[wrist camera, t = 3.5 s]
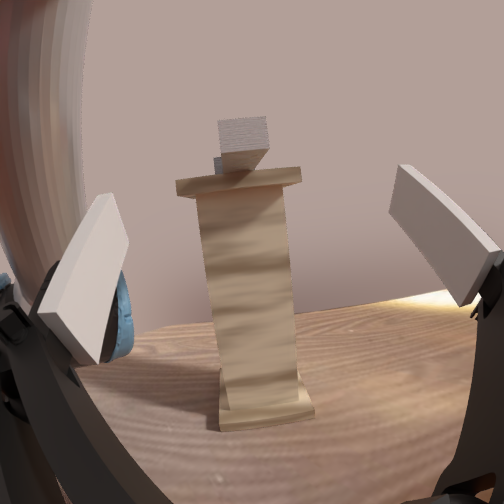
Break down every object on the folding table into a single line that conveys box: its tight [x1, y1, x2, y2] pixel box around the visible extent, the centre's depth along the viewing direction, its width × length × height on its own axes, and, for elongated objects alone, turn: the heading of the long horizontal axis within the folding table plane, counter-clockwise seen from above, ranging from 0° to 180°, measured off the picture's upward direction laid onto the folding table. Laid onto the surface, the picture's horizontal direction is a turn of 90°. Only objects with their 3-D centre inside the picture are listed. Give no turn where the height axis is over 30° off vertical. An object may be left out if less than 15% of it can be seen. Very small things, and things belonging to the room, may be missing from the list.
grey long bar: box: [214, 116, 270, 175], centre depth 28 cm, size 24×5×3 cm, turn 5°
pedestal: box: [176, 167, 315, 432], centre depth 36 cm, size 14×12×30 cm
